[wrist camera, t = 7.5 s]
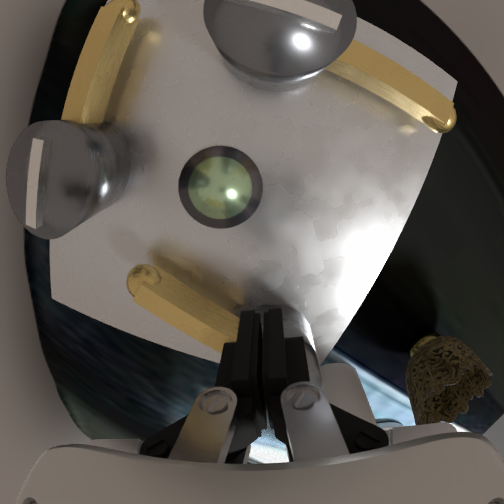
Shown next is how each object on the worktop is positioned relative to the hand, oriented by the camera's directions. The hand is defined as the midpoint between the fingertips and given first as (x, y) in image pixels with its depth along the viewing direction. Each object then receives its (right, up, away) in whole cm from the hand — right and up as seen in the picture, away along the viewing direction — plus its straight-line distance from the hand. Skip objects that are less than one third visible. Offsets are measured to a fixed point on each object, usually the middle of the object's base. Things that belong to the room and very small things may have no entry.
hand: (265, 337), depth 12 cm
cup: (+16, -5, +11) cm, 20 cm away
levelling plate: (-2, +8, +5) cm, 10 cm away
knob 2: (+4, +14, +1) cm, 14 cm away
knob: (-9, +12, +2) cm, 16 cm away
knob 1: (-2, -1, +8) cm, 8 cm away
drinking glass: (+7, -9, +13) cm, 17 cm away
